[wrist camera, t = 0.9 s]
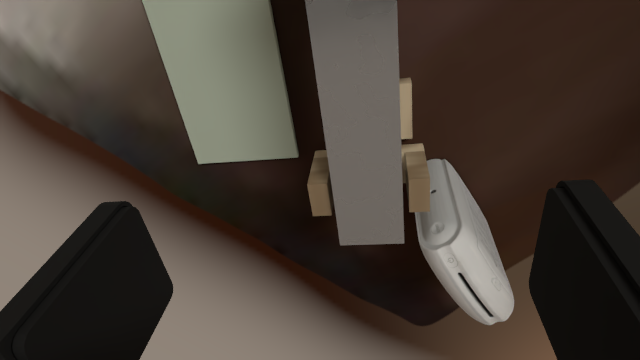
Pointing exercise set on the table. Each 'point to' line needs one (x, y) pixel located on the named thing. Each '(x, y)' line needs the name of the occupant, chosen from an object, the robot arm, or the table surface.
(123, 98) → the table surface
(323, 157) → the forked stand
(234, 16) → the sage mat
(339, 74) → the steel bar
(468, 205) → the photo printer
